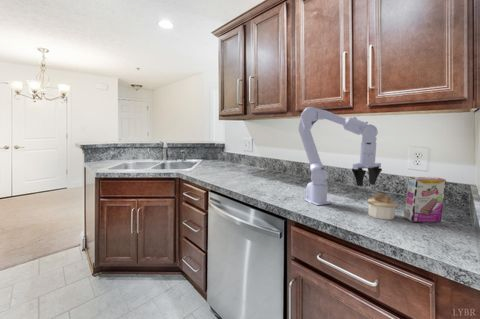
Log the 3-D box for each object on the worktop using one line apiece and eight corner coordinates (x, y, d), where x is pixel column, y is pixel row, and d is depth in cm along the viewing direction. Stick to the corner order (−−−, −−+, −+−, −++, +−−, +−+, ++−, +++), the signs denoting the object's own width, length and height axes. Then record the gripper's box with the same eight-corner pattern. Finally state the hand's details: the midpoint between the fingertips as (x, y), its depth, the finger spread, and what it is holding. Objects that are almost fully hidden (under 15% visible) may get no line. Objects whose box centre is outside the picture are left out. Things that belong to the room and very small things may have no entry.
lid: (361, 201, 102) (362, 192, 102) (379, 198, 106) (380, 190, 106) (385, 208, 93) (386, 199, 92) (404, 205, 97) (404, 196, 97)
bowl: (363, 213, 103) (364, 201, 102) (378, 210, 106) (379, 199, 106) (383, 220, 94) (384, 207, 94) (399, 217, 98) (400, 205, 98)
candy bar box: (412, 223, 92) (416, 179, 91) (403, 218, 97) (407, 176, 96) (442, 222, 93) (447, 179, 91) (431, 218, 98) (435, 176, 96)
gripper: (363, 154, 100) (361, 188, 101) (388, 153, 106) (386, 185, 107) (349, 153, 106) (347, 184, 108) (373, 152, 112) (371, 182, 114)
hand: (365, 185), depth 108 cm, fingers open, 7 cm apart
